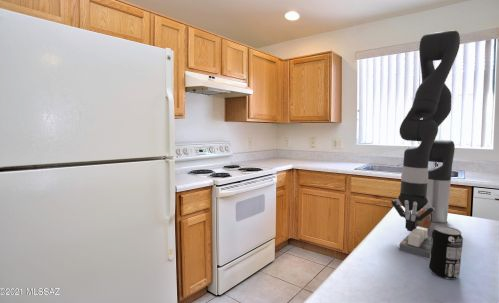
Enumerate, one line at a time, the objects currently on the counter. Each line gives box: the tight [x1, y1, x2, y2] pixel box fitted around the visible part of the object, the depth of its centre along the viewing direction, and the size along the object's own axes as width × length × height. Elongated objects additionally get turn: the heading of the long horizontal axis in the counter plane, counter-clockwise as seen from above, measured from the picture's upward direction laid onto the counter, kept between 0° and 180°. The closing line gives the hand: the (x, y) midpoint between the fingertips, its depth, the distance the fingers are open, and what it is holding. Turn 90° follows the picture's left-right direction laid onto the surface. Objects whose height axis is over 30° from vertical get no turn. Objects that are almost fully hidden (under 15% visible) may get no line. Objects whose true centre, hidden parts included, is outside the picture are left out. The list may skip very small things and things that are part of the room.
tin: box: [411, 207, 433, 230], centre depth 102 cm, size 15×3×8 cm, turn 129°
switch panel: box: [398, 232, 432, 260], centre depth 86 cm, size 13×12×2 cm
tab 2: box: [407, 232, 422, 247], centre depth 85 cm, size 2×3×3 cm
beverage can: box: [428, 225, 464, 280], centre depth 72 cm, size 7×7×12 cm
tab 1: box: [411, 229, 424, 243], centre depth 88 cm, size 2×3×3 cm
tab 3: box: [415, 226, 429, 240], centre depth 91 cm, size 2×3×3 cm
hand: (410, 230), depth 93 cm, fingers closed
